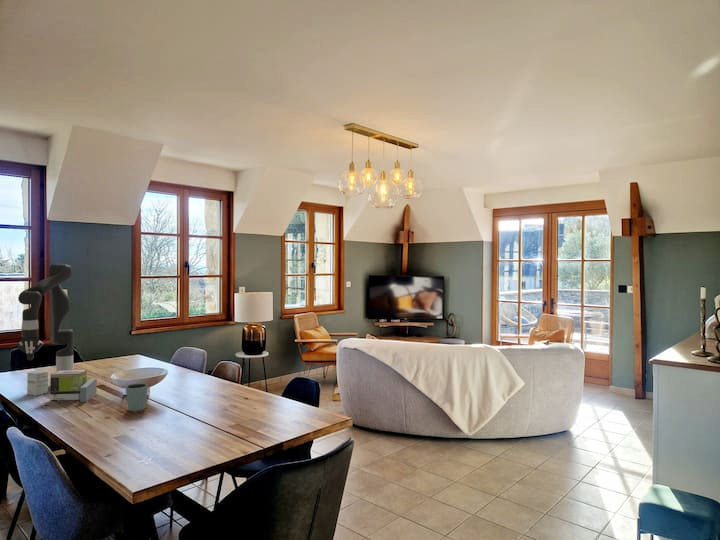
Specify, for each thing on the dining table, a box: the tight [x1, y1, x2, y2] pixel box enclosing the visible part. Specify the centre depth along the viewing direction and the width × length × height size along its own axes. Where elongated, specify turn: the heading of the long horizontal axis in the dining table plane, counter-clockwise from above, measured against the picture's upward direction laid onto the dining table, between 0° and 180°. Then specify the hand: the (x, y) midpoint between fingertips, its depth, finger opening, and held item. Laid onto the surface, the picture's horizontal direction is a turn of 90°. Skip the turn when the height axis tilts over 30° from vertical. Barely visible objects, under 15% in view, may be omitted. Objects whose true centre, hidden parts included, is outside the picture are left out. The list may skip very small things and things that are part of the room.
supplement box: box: [26, 369, 49, 397], centre depth 278 cm, size 7×7×13 cm
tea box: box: [49, 369, 88, 401], centre depth 270 cm, size 15×10×15 cm
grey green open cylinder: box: [125, 382, 149, 412], centre depth 251 cm, size 10×10×12 cm
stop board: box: [79, 377, 98, 403], centre depth 273 cm, size 22×3×8 cm, turn 15°
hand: (30, 360), depth 265 cm, fingers closed
